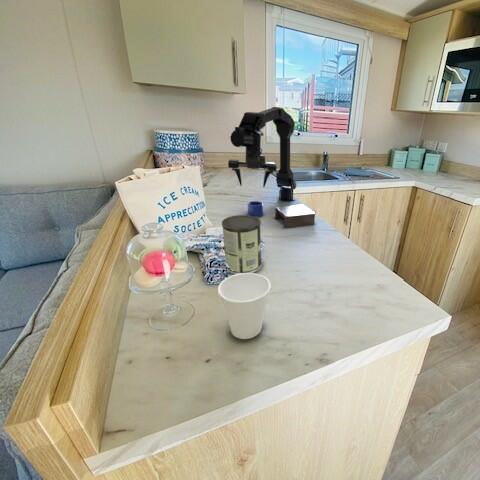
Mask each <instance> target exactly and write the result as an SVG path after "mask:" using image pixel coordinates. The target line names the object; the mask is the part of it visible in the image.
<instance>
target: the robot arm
mask: <svg viewBox="0 0 480 480" xmlns="http://www.w3.org/2000/svg"><path fill="white" fill-rule="evenodd" d="M270 122H272V124H274V126H275V131H276V133H277V135H278V137H279V169H278V167H277V164H276V163H275V162H271V161H266V155H261V148H262V147H261V144H262V143H261V140H262V137H263V136H264V133H263V132H262V129H264V128H265V127H266V125H267V123H270ZM295 125H296V123H295V121H294V119H293V117H292V115H290V114H289V113H288V112H286V110H285V109H284V108H283V107H280V106H272V107H271V108H268V109H264V110H262V111H259V112H257V111H256V112H255V111H252V112H251V111H246V112H244V113H243V116H242V118H241V120H240V123H239V125H238V126H235V127H234V130H233V131H232V132H231V135H230V136H229V137H230V142H231V144H232V146H234V147H235V148H245V161H240V160H239V159H234V158H230V159H229V160H228V161H227V162H228V163H227V167H228V168H229V169H231V170H232V171H234V172H235V174H236V176H237V180H238V183H239V186H240V187H242V185H243V184H242V174H241V168H247V169H256V170H259V169H264V175H263V182H262V186H263V188H265V187H266V184H267V182H268V179H269V177H270V175H271V174H274V172H276V173H275V176H276V177H275V180H276V187H277V188H279V190H278V198H279V200H281V201H282V202H289V201H290V202H291V201H295V198H294V190H296V189H297V182H296V180H295V178H294V173H293V171H292V169H291V138H292V136H293V134H294V132H295ZM240 167H241V168H240ZM277 169H278V171H277Z"/></svg>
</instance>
